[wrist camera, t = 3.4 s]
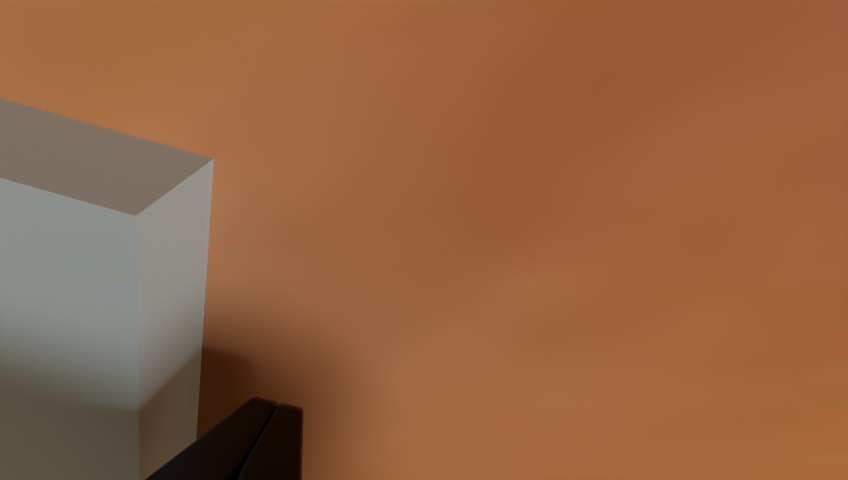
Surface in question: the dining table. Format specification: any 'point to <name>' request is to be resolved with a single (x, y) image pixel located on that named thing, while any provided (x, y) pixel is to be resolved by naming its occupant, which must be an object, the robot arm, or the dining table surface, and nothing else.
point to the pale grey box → (98, 298)
